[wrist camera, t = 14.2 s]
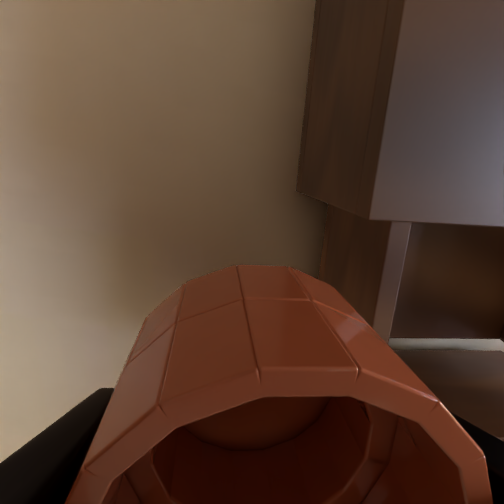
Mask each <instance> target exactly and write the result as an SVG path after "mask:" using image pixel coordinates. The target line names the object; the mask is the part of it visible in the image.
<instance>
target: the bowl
mask: <svg viewBox="0 0 504 504" xmlns="http://www.w3.org/2000/svg"><path fill="white" fill-rule="evenodd" d="M64 504H493V498H492V493H491V487H490V481H489V475H488V469H487V463H486V457H485V455H484V453H483V450H482V449H481V448H480V447H479V445H478V444H477V443H476V442H475V441H474V440H473V438H472V437H471V436H470V435H469V434H468V433H467V431H466V430H465V429H464V428H463V427H462V425H461V424H460V423H459V422H458V421H457V420H456V418H455V417H454V416H453V415H452V414H451V413H450V411H449V410H448V409H447V408H446V407H445V405H444V404H443V403H442V402H441V401H440V400H439V399H438V398H437V397H436V395H435V394H434V393H433V392H432V391H431V390H430V389H429V388H428V387H427V386H426V385H425V384H424V383H423V382H422V381H421V379H420V378H419V377H418V376H417V375H416V374H415V373H414V372H413V371H412V370H411V369H410V368H409V367H408V366H407V365H406V363H405V362H404V361H403V360H402V359H401V358H400V357H399V356H398V355H397V354H396V353H395V352H394V351H393V350H392V349H391V347H390V346H389V345H388V344H387V343H386V342H385V341H384V340H383V339H382V338H381V337H380V336H379V335H378V334H377V333H376V332H375V330H374V329H373V328H372V327H371V326H370V325H369V324H368V323H367V322H366V321H365V320H364V319H363V318H362V317H361V316H360V314H359V313H358V312H357V311H356V310H355V309H354V308H353V307H352V306H351V305H350V304H349V303H348V302H347V301H346V300H345V299H344V297H343V296H342V295H341V294H340V293H339V292H338V291H337V290H336V289H335V288H333V287H332V286H331V285H329V284H327V283H325V282H323V281H321V280H318V279H316V278H314V277H312V276H310V275H307V274H305V273H303V272H301V271H299V270H297V269H294V268H292V267H286V266H268V265H241V264H240V265H237V266H236V265H232V266H229V267H226V268H223V269H221V270H218V271H215V272H212V273H209V274H206V275H204V276H201V277H198V278H195V279H192V280H189V281H187V282H186V284H183V285H181V286H180V287H179V288H178V289H177V290H176V291H175V292H174V293H172V294H171V295H170V296H169V297H168V298H167V299H166V300H164V301H163V302H162V303H161V304H160V305H159V306H158V307H156V308H155V309H154V310H153V311H152V312H151V313H150V314H149V315H148V317H146V318H145V320H144V322H143V325H142V327H141V329H140V331H139V333H138V336H137V338H136V340H135V342H134V344H133V346H132V349H131V351H130V353H129V355H128V357H127V360H126V362H125V364H124V366H123V369H122V371H121V373H120V376H119V378H118V380H117V382H116V385H115V387H114V389H113V392H112V394H111V396H110V398H109V401H108V403H107V405H106V408H105V410H104V412H103V414H102V417H101V419H100V421H99V424H98V426H97V428H96V430H95V433H94V435H93V437H92V440H91V442H90V444H89V446H88V449H87V451H86V453H85V456H84V458H83V460H82V462H81V465H80V467H79V469H78V472H77V474H76V476H75V478H74V481H73V483H72V485H71V488H70V490H69V492H68V494H67V497H66V499H65V501H64Z"/></svg>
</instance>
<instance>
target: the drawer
mask: <svg viewBox="0 0 504 504" xmlns="http://www.w3.org/2000/svg"><path fill="white" fill-rule="evenodd" d="M318 280H321V281H323V282H325V283H327V284H329V285H331V286H332V287H333V288H335V289H336V290H337V291H338V292H339V293H340V294H341V295H342V296H343V297H344V299H345V300H346V301H347V302H348V303H349V304H350V305H351V306H352V307H353V308H354V309H355V310H356V311H357V312H358V313H359V314H360V316H361V317H362V318H363V319H364V320H365V321H366V322H367V323H368V324H369V325H370V326H371V327H372V328H373V329H374V330H375V332H376V333H377V334H378V335H379V336H380V337H381V338H382V339H383V340H384V341H385V342H386V343H387V344H388V341H389V338H460V339H500V340H502V341H503V342H504V228H502V227H484V226H466V225H449V224H431V223H413V222H395V221H377V220H368V219H365V218H362V217H360V216H358V215H356V214H353V213H351V212H348V211H346V210H343V209H341V208H338V207H335V206H333V205H330V204H328V208H327V216H326V223H325V231H324V239H323V246H322V254H321V261H320V269H319V277H318ZM393 351H394V352H395V353H396V354H397V355H398V356H399V357H400V358H401V359H402V360H403V361H404V362H405V363H406V365H407V366H408V367H409V368H410V369H411V370H412V371H413V372H414V373H415V374H416V375H417V376H418V377H419V378H420V379H421V381H422V382H423V383H424V384H425V385H426V386H427V387H428V388H429V389H430V390H431V391H432V392H433V393H434V394H435V395H436V397H437V398H438V399H439V400H440V401H441V402H442V403H443V404H444V405H445V407H446V408H447V409H448V410H449V411H450V412H452V413H453V414H455V415H457V416H459V417H461V418H462V419H464V420H466V421H468V422H470V423H471V424H473V425H475V426H477V427H479V428H480V429H482V430H484V431H486V432H488V433H489V434H491V435H493V436H495V437H497V438H498V439H500V440H502V441H504V352H502V351H401V350H393Z"/></svg>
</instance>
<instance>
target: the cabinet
mask: <svg viewBox="0 0 504 504" xmlns="http://www.w3.org/2000/svg"><path fill="white" fill-rule="evenodd" d="M296 191H297V192H299V193H302V194H305V195H307V196H310V197H312V198H315V199H318V200H320V201H323V202H325V203H328V204H330V205H333V206H335V207H338V208H341V209H343V210H346V211H348V212H351V213H353V214H356V215H358V216H360V217H362V218H365V219H368V220H377V221H395V222H413V223H431V224H449V225H466V226H484V227H502V228H504V0H316V6H315V16H314V25H313V35H312V44H311V53H310V63H309V72H308V82H307V91H306V100H305V110H304V119H303V129H302V138H301V147H300V157H299V166H298V176H297V185H296Z"/></svg>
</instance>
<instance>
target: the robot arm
mask: <svg viewBox="0 0 504 504" xmlns="http://www.w3.org/2000/svg"><path fill="white" fill-rule="evenodd" d="M113 389H114V388H100V389H98V390H97V391H95V392H94V393H93V394H91V395H90V396H89V397H87V398H86V399H85V400H83V401H82V402H81V403H79V404H78V405H77V406H75V407H74V408H73V409H71V410H70V411H69V412H67V413H66V414H65V415H64V416H62V417H61V418H60V419H58V420H57V421H56V422H54V423H53V424H52V425H50V426H49V427H48V428H46V429H45V430H44V431H42V432H41V433H40V434H38V435H37V436H36V437H34V438H33V439H32V440H30V441H29V442H28V443H26V444H25V445H24V446H22V447H21V448H20V449H18V450H17V451H16V452H14V453H13V454H12V455H10V456H9V457H8V458H7V459H5V460H4V461H3V462H1V463H0V504H64V501H65V499H66V497H67V494H68V492H69V490H70V488H71V485H72V483H73V481H74V478H75V476H76V474H77V472H78V469H79V467H80V465H81V462H82V460H83V458H84V456H85V453H86V451H87V449H88V446H89V444H90V442H91V440H92V437H93V435H94V433H95V430H96V428H97V426H98V424H99V421H100V419H101V417H102V414H103V412H104V410H105V408H106V405H107V403H108V401H109V398H110V396H111V394H112V392H113ZM450 413H451V414H452V415H453V416H454V417H455V418H456V420H457V421H458V422H459V423H460V424H461V425H462V427H463V428H464V429H465V430H466V431H467V433H468V434H469V435H470V436H471V437H472V438H473V440H474V441H475V442H476V443H477V444H478V445H479V447H480V448H481V449H482V450H483V453H484V455H485V457H486V463H487V469H488V475H489V481H490V487H491V493H492V498H493V504H504V441H502V440H500V439H498V438H497V437H495V436H493V435H491V434H489V433H488V432H486V431H484V430H482V429H480V428H479V427H477V426H475V425H473V424H471V423H470V422H468V421H466V420H464V419H462V418H461V417H459V416H457V415H455V414H453V413H452V412H450Z"/></svg>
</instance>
